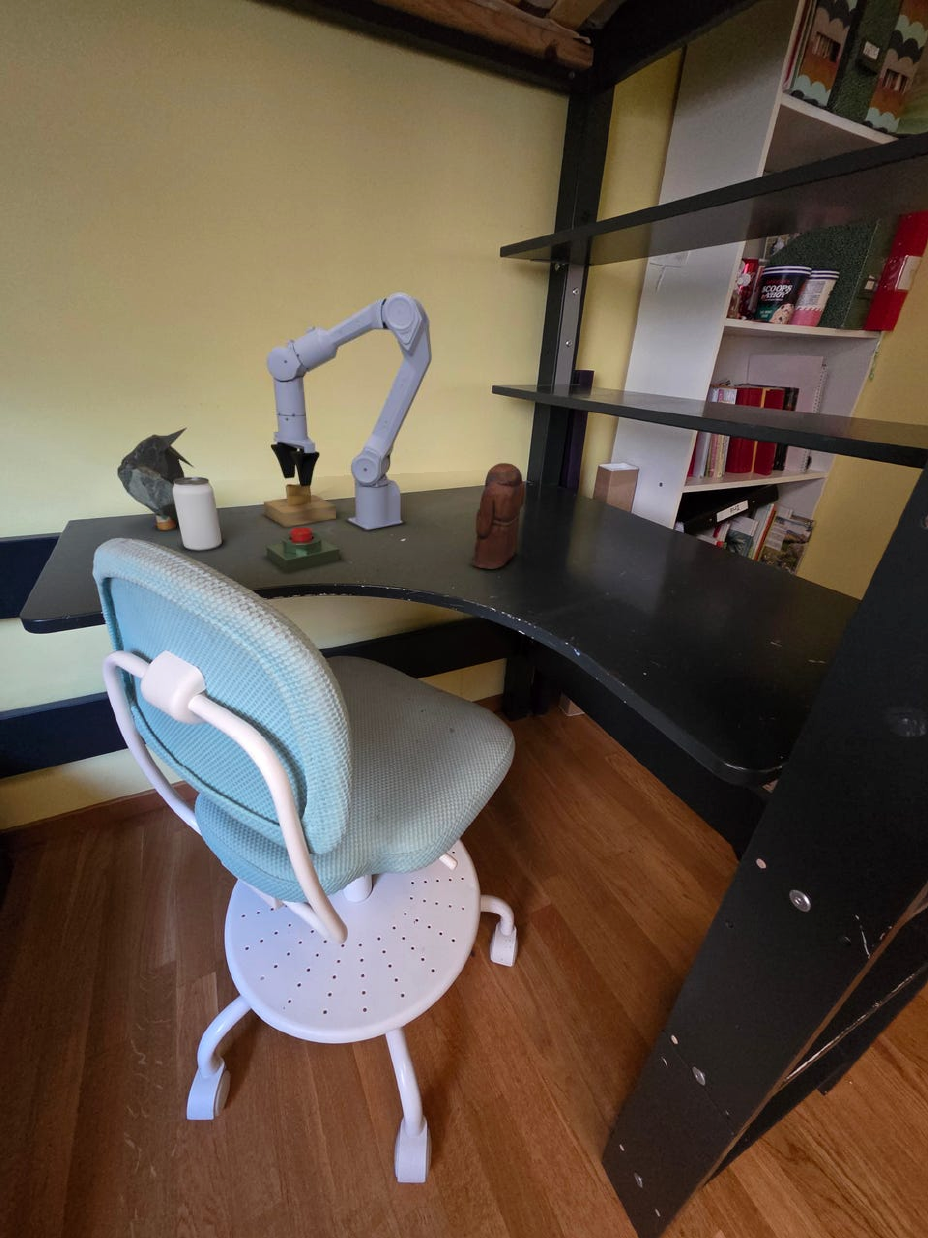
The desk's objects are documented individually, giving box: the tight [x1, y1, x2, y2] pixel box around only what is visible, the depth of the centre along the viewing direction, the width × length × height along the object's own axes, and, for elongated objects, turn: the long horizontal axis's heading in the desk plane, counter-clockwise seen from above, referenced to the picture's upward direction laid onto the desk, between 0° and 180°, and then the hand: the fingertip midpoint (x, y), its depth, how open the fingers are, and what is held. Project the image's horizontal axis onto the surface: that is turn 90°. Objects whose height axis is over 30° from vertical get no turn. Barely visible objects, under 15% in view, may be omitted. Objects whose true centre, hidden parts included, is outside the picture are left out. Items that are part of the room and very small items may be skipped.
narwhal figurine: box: [117, 427, 194, 531], centre depth 101 cm, size 14×15×18 cm
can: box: [173, 476, 223, 552], centre depth 92 cm, size 6×6×12 cm
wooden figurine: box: [472, 462, 526, 570], centre depth 94 cm, size 12×6×18 cm, turn 156°
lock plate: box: [263, 494, 337, 528], centre depth 113 cm, size 12×10×3 cm
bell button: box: [289, 527, 313, 542], centre depth 90 cm, size 4×4×2 cm
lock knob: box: [285, 483, 312, 505], centre depth 111 cm, size 5×1×4 cm, turn 132°
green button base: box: [265, 532, 340, 573], centre depth 92 cm, size 10×8×4 cm
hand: (297, 481), depth 110 cm, fingers open, 7 cm apart
